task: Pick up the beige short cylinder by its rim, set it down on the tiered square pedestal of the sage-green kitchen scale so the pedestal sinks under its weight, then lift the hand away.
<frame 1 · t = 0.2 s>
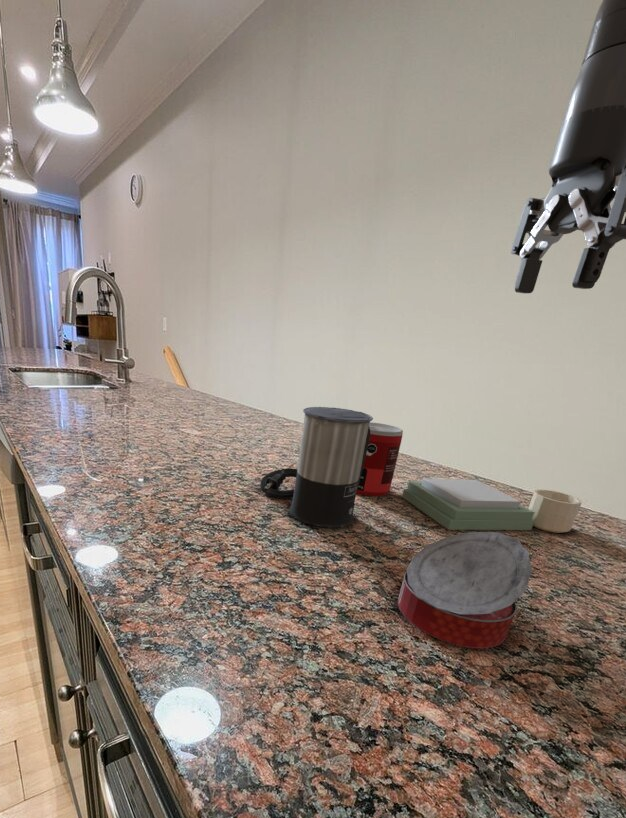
hand: (550, 290, 53), 31 cm above the table, tool pointing down, fingers open, 8 cm apart
milk frother: (302, 507, 67), on the table
scale: (462, 513, 71), on the table
beige short cylinder: (545, 526, 68), on the table
canned food: (365, 490, 77), on the table
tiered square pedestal: (468, 493, 69), point 3 cm above the table, slide at 0.0 cm
canned food 2: (449, 617, 43), on the table
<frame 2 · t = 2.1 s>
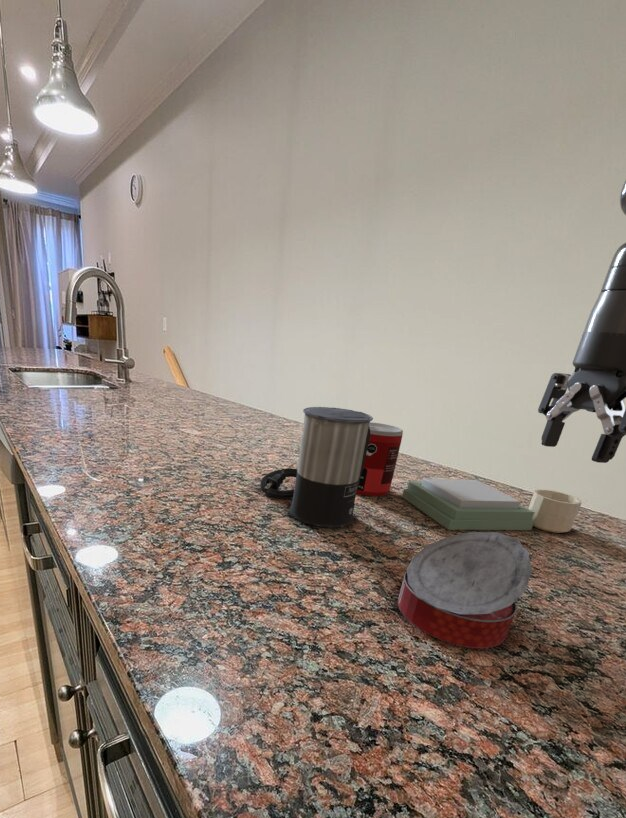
hand: (572, 453, 64), 12 cm above the table, tool pointing down, fingers open, 8 cm apart
nothing on the table moved.
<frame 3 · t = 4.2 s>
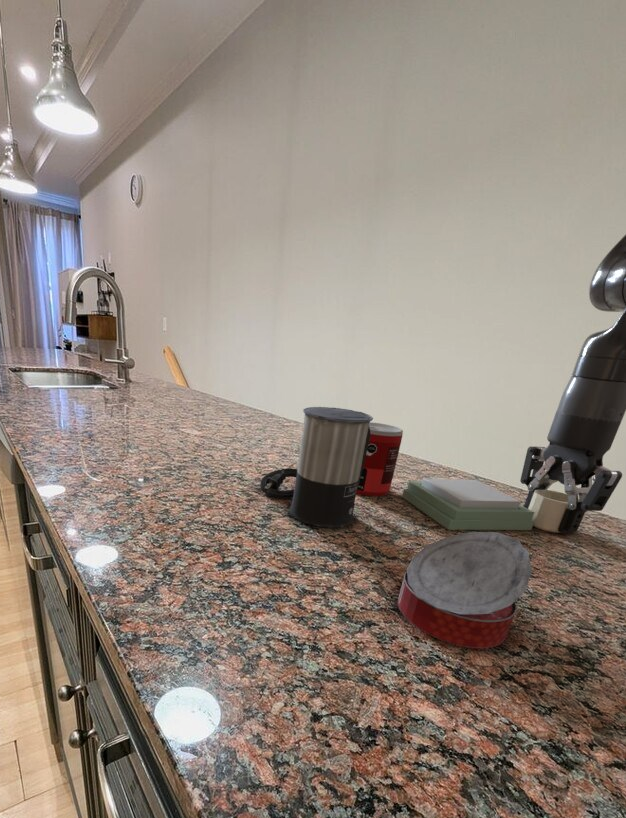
hand: (546, 522, 68), 1 cm above the table, tool pointing down, fingers closed on beige short cylinder, 6 cm apart
beige short cylinder: (545, 526, 68), on the table, touching gripper
everything else where it was.
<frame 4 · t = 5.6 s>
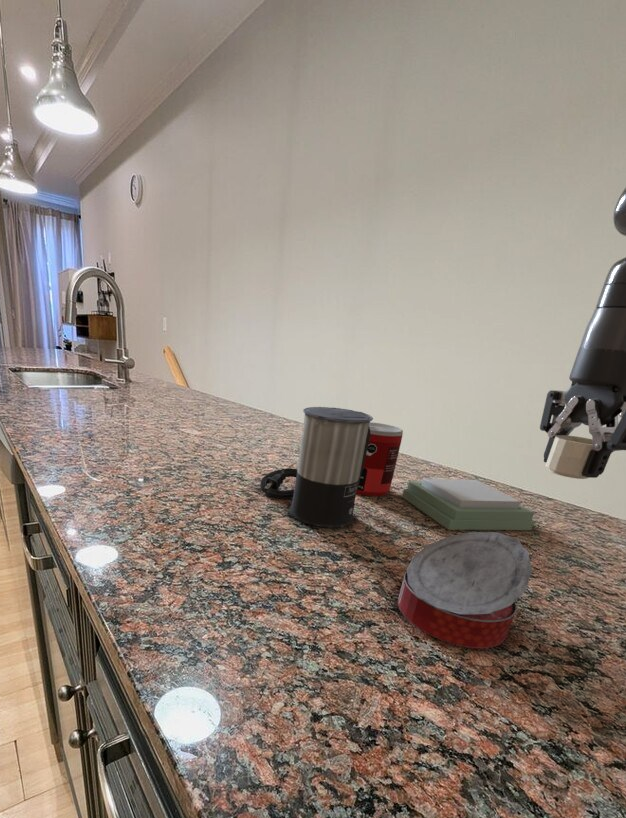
hand: (569, 469, 65), 9 cm above the table, tool pointing down, fingers closed on beige short cylinder, 6 cm apart
beige short cylinder: (567, 473, 65), point 9 cm above the table, touching gripper
everything else where it was.
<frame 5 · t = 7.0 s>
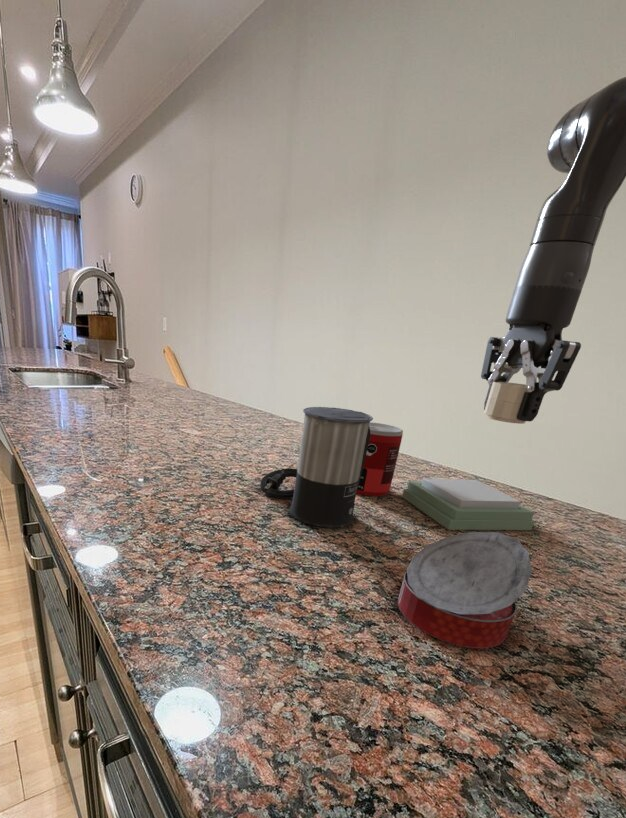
hand: (506, 415, 64), 16 cm above the table, tool pointing down, fingers closed on beige short cylinder, 6 cm apart
beige short cylinder: (505, 420, 64), point 15 cm above the table, touching gripper
everything else where it was.
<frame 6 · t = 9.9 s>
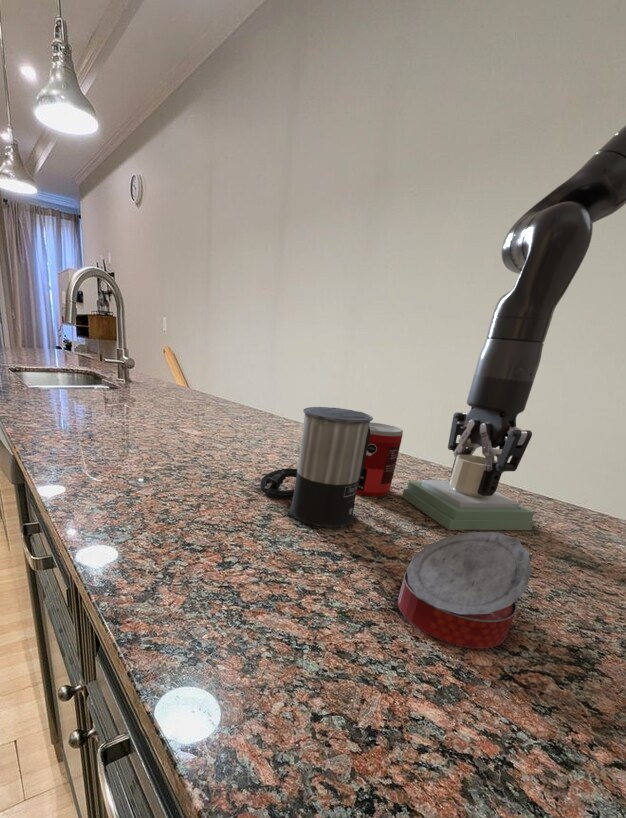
hand: (470, 487, 69), 4 cm above the table, tool pointing down, fingers closed on beige short cylinder, 6 cm apart
beige short cylinder: (469, 491, 69), point 4 cm above the table, touching gripper, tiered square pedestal
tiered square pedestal: (467, 495, 70), point 3 cm above the table, slide at -0.3 cm, touching beige short cylinder
everything else where it was.
when the fingers open (4 cm above the table, at t = 10.2 s): beige short cylinder stays where it is, resting on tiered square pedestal.
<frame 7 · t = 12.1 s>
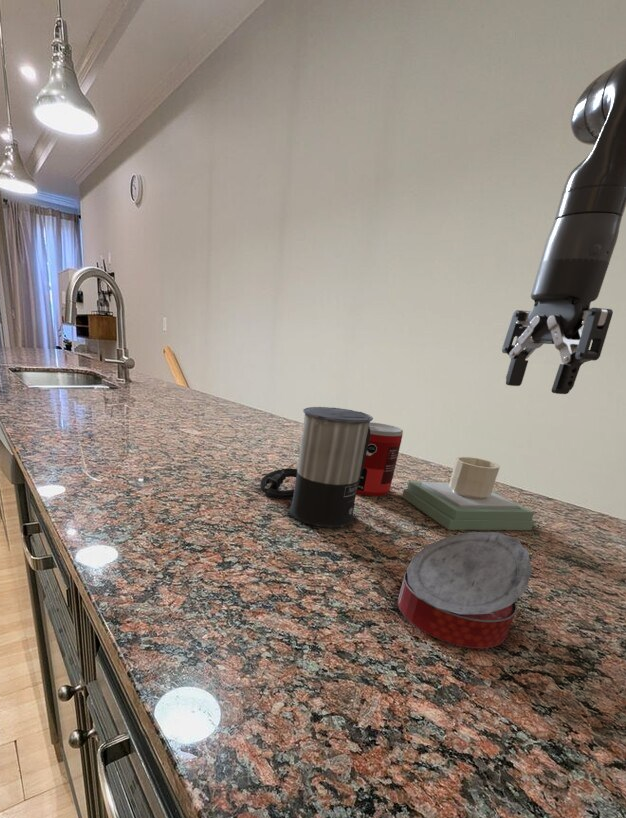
hand: (534, 389, 64), 20 cm above the table, tool pointing down, fingers open, 8 cm apart
beige short cylinder: (468, 493, 69), point 3 cm above the table, touching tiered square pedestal
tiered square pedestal: (466, 497, 70), point 3 cm above the table, slide at -0.7 cm, touching beige short cylinder
everything else where it was.
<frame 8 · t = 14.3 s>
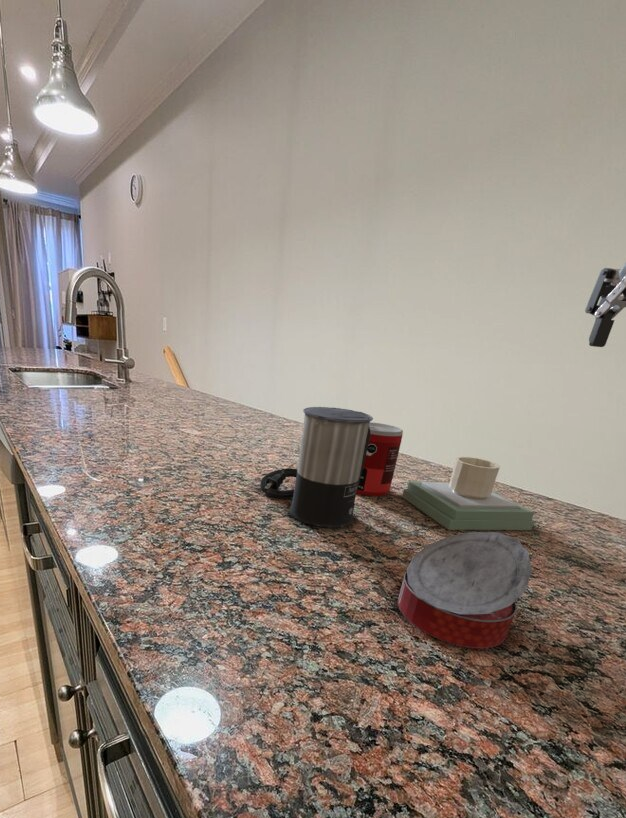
hand: (623, 348, 62), 26 cm above the table, tool pointing down, fingers open, 8 cm apart
nothing on the table moved.
at the end: beige short cylinder inside the target area on the scale (0.0 cm from its centre), point 3.4 cm above the scale's base; beige short cylinder tilted 0°; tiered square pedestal slide at -0.7 cm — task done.
